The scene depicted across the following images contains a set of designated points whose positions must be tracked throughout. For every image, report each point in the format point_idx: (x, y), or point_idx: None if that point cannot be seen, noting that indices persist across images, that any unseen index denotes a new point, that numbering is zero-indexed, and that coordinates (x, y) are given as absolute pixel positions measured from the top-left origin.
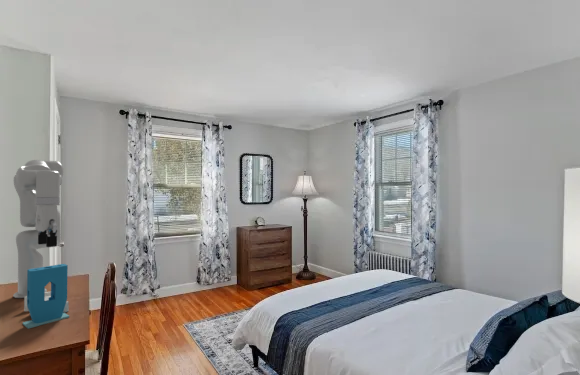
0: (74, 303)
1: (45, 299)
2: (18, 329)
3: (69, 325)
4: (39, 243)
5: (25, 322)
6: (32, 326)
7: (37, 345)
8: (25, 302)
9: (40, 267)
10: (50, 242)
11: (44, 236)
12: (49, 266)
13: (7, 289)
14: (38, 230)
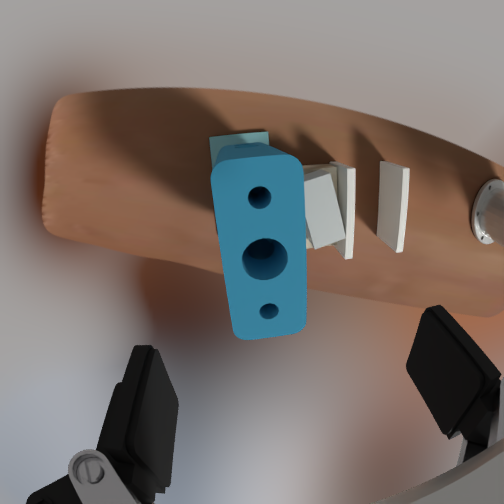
0: (339, 271)
1: (319, 206)
2: (225, 117)
3: (151, 224)
4: (427, 317)
5: (259, 137)
6: (210, 147)
7: (73, 149)
8: (393, 166)
9: (302, 227)
10: (113, 401)
11: (448, 400)
12: (290, 270)
13: None
14: (434, 481)
